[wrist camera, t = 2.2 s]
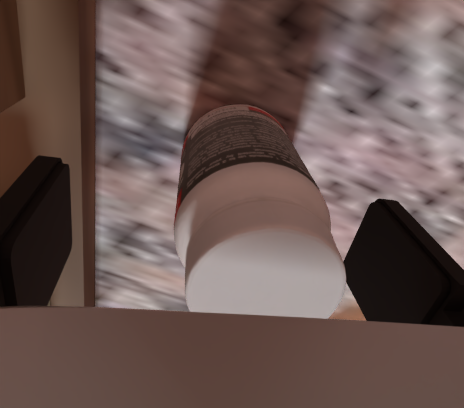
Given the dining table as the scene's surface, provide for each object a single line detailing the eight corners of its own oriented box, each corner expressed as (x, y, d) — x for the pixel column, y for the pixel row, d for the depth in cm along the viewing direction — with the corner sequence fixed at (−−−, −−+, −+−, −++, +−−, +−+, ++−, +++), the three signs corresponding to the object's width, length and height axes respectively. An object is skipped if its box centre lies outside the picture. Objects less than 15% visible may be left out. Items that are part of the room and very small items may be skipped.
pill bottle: (161, 133, 15) (125, 265, 8) (264, 81, 14) (326, 176, 7) (213, 215, 17) (220, 375, 10) (303, 175, 17) (380, 318, 9)
